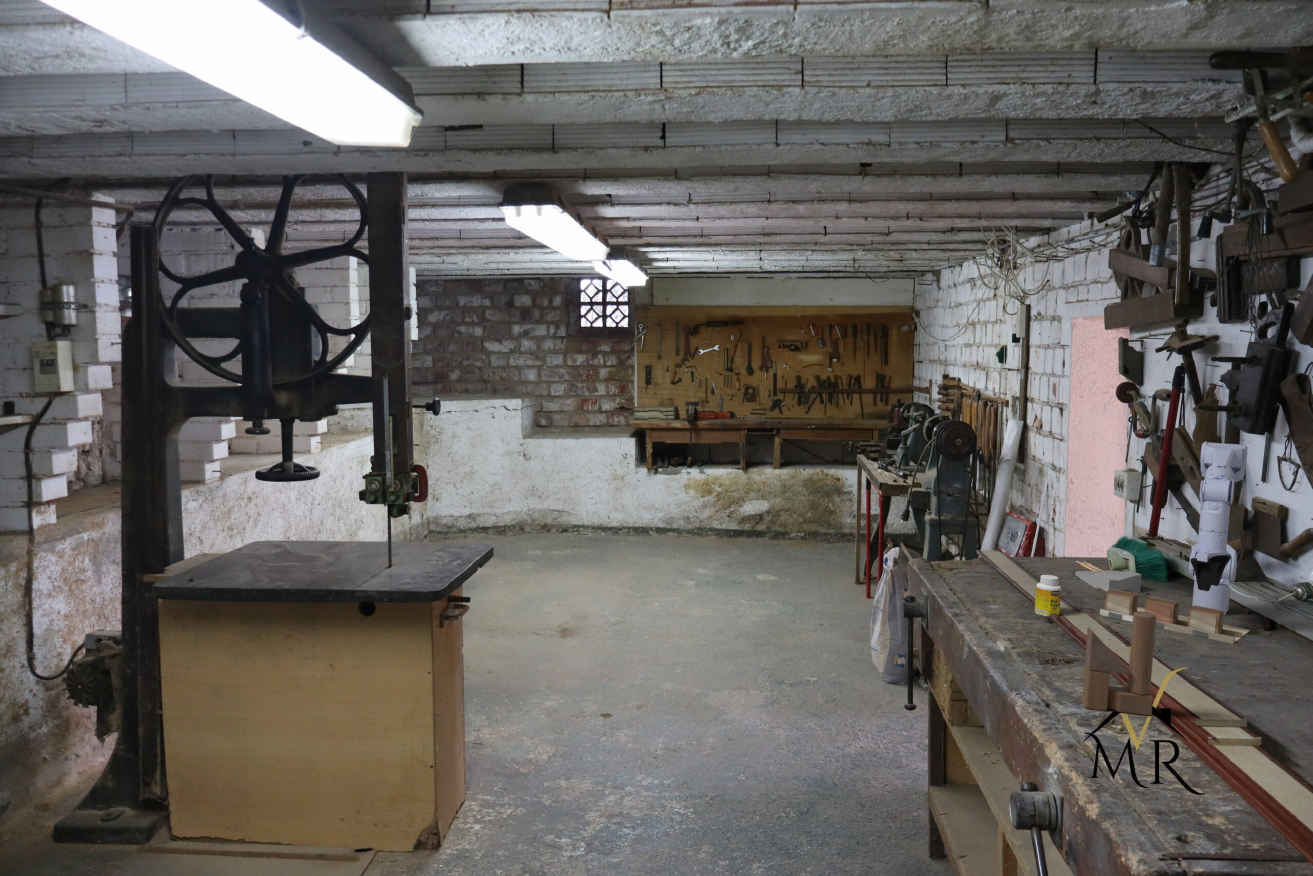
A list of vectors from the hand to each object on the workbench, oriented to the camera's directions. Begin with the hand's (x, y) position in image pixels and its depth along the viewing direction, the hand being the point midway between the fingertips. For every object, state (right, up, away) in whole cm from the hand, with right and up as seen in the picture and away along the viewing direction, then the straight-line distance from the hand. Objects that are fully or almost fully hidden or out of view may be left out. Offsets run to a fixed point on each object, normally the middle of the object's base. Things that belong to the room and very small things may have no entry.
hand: (1208, 587), depth 208 cm
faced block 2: (-4, -10, -4) cm, 11 cm away
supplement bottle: (-34, -9, +9) cm, 36 cm away
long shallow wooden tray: (-6, -10, +4) cm, 12 cm away
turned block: (-10, -9, +2) cm, 13 cm away
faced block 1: (-16, -8, +8) cm, 20 cm away
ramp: (-3, -7, +42) cm, 42 cm away
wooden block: (-46, -14, -48) cm, 68 cm away
